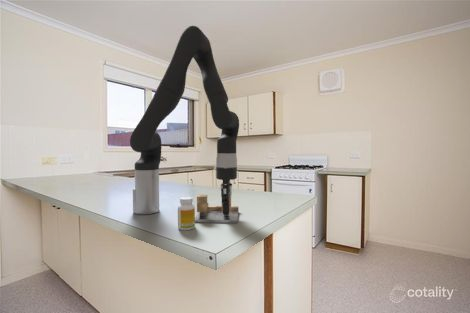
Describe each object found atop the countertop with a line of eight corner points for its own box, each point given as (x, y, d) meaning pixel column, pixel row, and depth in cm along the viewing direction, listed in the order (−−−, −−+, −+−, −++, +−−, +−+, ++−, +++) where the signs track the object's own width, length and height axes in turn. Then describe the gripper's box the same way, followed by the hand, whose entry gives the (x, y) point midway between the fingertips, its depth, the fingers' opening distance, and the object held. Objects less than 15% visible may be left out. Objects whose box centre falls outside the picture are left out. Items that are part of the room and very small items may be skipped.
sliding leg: (221, 216, 84) (221, 196, 84) (222, 213, 87) (222, 194, 87) (230, 216, 84) (230, 197, 84) (231, 213, 87) (231, 195, 87)
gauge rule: (195, 219, 85) (195, 196, 84) (201, 211, 96) (201, 190, 95) (237, 220, 84) (237, 197, 83) (238, 212, 95) (238, 191, 94)
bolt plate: (194, 222, 82) (194, 219, 82) (200, 213, 93) (200, 210, 93) (237, 223, 81) (237, 220, 81) (238, 214, 92) (238, 211, 92)
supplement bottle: (198, 227, 77) (198, 197, 76) (184, 231, 73) (184, 200, 72) (188, 223, 80) (188, 195, 80) (174, 227, 76) (174, 198, 76)
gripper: (218, 164, 92) (218, 207, 93) (213, 167, 78) (213, 218, 79) (237, 164, 92) (237, 208, 92) (236, 167, 78) (235, 218, 78)
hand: (226, 212), depth 86 cm, fingers closed on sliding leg, 3 cm apart
